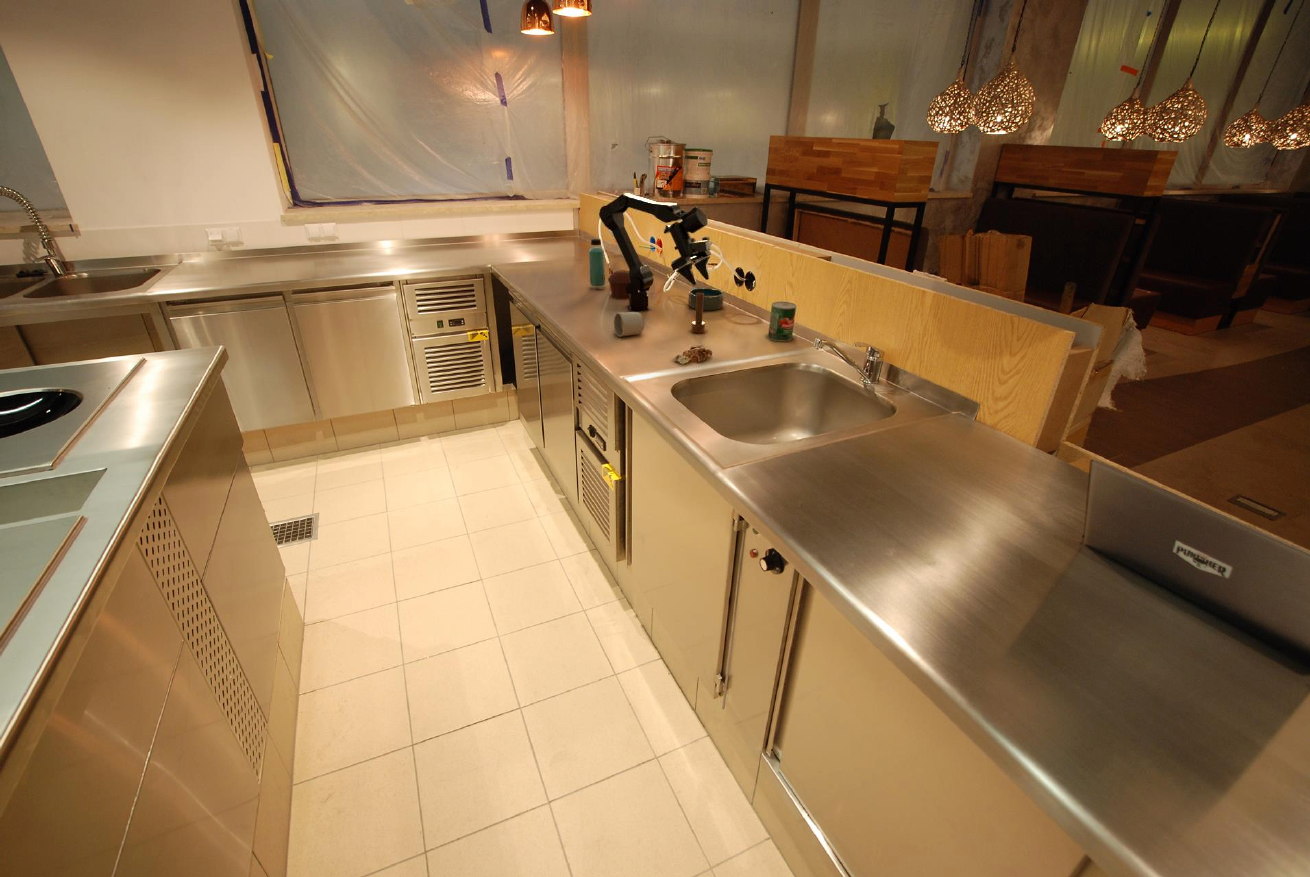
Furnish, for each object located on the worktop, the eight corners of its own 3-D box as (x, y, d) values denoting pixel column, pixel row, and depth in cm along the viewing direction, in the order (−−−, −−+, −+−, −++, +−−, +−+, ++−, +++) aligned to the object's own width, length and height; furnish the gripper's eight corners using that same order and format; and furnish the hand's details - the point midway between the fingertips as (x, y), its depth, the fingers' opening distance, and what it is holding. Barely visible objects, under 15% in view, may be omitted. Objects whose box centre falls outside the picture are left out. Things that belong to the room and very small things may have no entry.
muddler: (694, 334, 191) (696, 295, 185) (689, 330, 195) (691, 292, 189) (706, 333, 193) (708, 294, 186) (701, 329, 196) (703, 291, 190)
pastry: (670, 360, 169) (670, 348, 168) (697, 351, 177) (698, 340, 175) (687, 367, 165) (688, 355, 163) (715, 357, 172) (715, 346, 171)
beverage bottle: (603, 290, 240) (601, 240, 231) (587, 289, 241) (585, 239, 232) (607, 286, 246) (606, 238, 236) (592, 285, 247) (590, 237, 237)
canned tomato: (787, 343, 185) (791, 309, 180) (764, 338, 188) (767, 305, 183) (795, 336, 191) (800, 304, 185) (773, 332, 194) (777, 300, 189)
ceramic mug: (645, 336, 189) (645, 313, 185) (623, 339, 185) (622, 316, 181) (631, 327, 197) (630, 305, 193) (609, 330, 193) (608, 308, 190)
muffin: (632, 291, 239) (632, 267, 234) (640, 298, 230) (640, 273, 225) (605, 293, 236) (604, 268, 231) (611, 300, 227) (611, 274, 222)
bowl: (695, 312, 214) (696, 297, 211) (683, 303, 225) (684, 289, 222) (728, 310, 217) (729, 295, 215) (714, 301, 228) (715, 287, 226)
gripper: (687, 232, 184) (707, 277, 186) (713, 225, 198) (732, 267, 200) (661, 247, 191) (681, 291, 194) (688, 240, 205) (707, 280, 208)
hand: (701, 282), depth 199 cm, fingers open, 9 cm apart
